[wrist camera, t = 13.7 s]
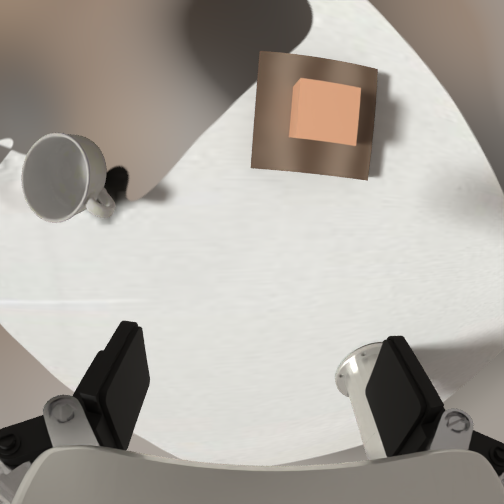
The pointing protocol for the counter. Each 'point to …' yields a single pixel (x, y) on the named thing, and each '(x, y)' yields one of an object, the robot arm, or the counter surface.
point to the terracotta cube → (325, 111)
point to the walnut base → (279, 115)
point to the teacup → (65, 178)
